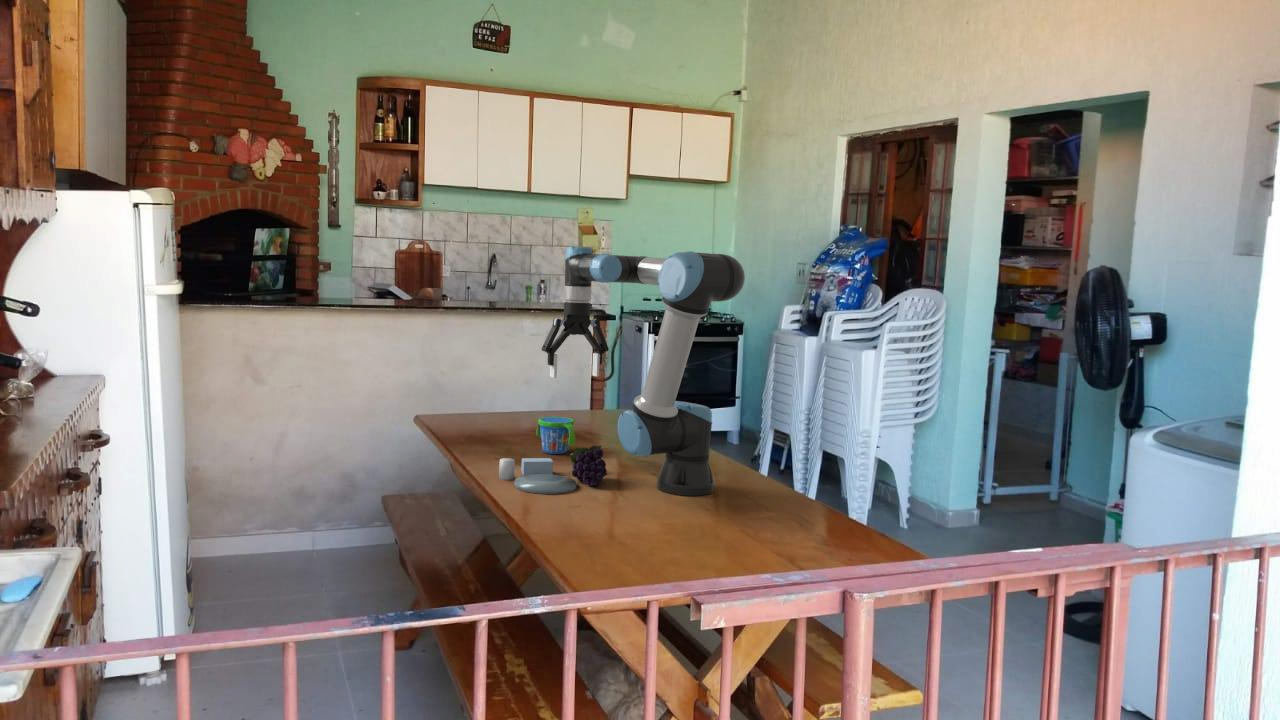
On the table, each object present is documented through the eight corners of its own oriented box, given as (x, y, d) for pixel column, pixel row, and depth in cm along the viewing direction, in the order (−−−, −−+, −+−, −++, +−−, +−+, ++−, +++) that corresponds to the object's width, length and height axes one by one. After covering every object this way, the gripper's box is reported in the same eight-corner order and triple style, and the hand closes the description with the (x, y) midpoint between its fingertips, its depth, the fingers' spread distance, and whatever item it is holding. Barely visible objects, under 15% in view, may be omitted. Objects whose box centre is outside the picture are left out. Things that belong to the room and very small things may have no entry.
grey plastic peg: (516, 479, 249) (517, 461, 248) (502, 480, 247) (503, 462, 246) (510, 475, 252) (510, 457, 252) (496, 477, 250) (497, 458, 249)
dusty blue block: (552, 475, 256) (553, 461, 255) (523, 476, 254) (524, 461, 253) (549, 472, 260) (550, 458, 259) (521, 472, 257) (521, 458, 257)
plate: (587, 490, 241) (587, 486, 241) (531, 496, 233) (531, 491, 232) (558, 476, 255) (558, 472, 254) (504, 481, 246) (504, 476, 246)
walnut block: (594, 472, 262) (595, 454, 262) (582, 474, 258) (583, 457, 258) (580, 468, 265) (581, 451, 265) (569, 471, 261) (570, 454, 261)
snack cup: (526, 448, 287) (527, 416, 286) (554, 445, 293) (556, 413, 292) (554, 459, 275) (556, 425, 274) (583, 456, 281) (585, 422, 280)
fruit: (582, 500, 244) (563, 472, 256) (619, 491, 248) (599, 465, 260) (581, 466, 240) (562, 439, 252) (619, 458, 244) (599, 432, 256)
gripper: (609, 301, 273) (606, 374, 275) (531, 300, 260) (528, 375, 262) (622, 303, 267) (619, 377, 269) (543, 301, 254) (540, 379, 256)
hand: (574, 376), depth 266 cm, fingers open, 13 cm apart
